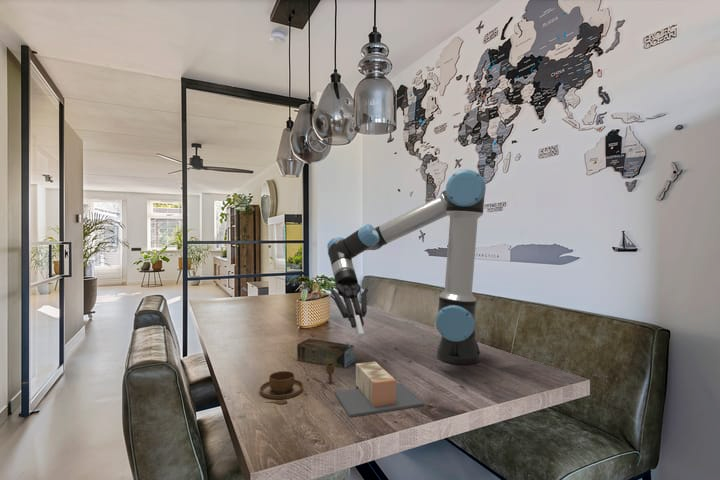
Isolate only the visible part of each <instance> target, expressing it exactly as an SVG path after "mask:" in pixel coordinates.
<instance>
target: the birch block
mask: <svg viewBox="0 0 720 480" xmlns="http://www.w3.org/2000/svg"><path fill="white" fill-rule="evenodd" d="M396 383H397V380H396V378H394V377H393V376H392V375H391V374H390V373H389V372H388V371H386V370H385V369H384V368H383V367H382V365H379V363H378V362H376V361H367V362H359V363H355V385H356V386H357V387H358V388H359V389H360V390H361V392H362V393H363V394H364V395H365V397H366V398H367V399H368V400H369V402H370V403H371V404H372V405H373V407H377V406H383V405H390V404H396ZM358 388H357V389H358Z"/></svg>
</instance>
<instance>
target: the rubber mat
mask: <svg viewBox="0 0 720 480" xmlns="http://www.w3.org/2000/svg"><path fill="white" fill-rule="evenodd" d="M334 395H335V396H336V398H337V399H338V402H340V404H341V406H342V408H343V409H344V411H345V413H346V414H347V416H348V417H349V418H354V417H355V418H356V417H359V416H367V415H372V414H379V413H385V412H391V411H398V410H399V411H400V410H404V409H411V408H412V409H413V408H418V407H424V406H425V403H424V402H423V401H422V400H421V399H420V398H419V397H418V396H416V395H415V393H413V392H412V391H411V390H410V389H409V388H407V386H405V385H404V384H403V383H402V382H396V404H390V405H383V406H377V407H373V405H372V404H371V403H370V402H369V400H368V399H367V398H366V397H365V395H364V394H363V393H362V392H361V390H360V389H359V388H353V389H344V390H335V391H334Z"/></svg>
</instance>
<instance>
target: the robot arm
mask: <svg viewBox="0 0 720 480" xmlns="http://www.w3.org/2000/svg"><path fill="white" fill-rule="evenodd" d="M486 188H487V187H486V181H485V179H484V178H483V176H482V175H481V174H480V173H478V172H477V171H475V170H472V169H462V170H458V171H456V172H454V173H453V174H451V176H450V177H449V178H448V180H447V182H446V184H445V190H443V191H441V193H440V195H439V196H438V197H435V198H433V199H431V200H430V201H429V200H428V201H427V202H425V203H423V204H422V205H419V206H417V207H415V208H413V209H411V210H408V211H407V212H405V213H403V214H400V215H399V216H397V217H395V218H393V219H391V220H388V221H387V222H385V223H383V224H381V225H378V226H376V227H374V226H373V225H372V224H370V223H368V224H365V225H364V226H362V227H359V228H358V229H357V230H355V231H354V232H352V234H350V235H348V236H347V237H345V238H343V237H341V236H337V237H334V238H332V239H330V240H329V241H328V243H327V247H326V248H327V255H328V257H329V260H330V264H331V270H332V274H333V277H334V283H335V286H336V288H335V289H331V292H330V295H329V296H330V298H331V299H333V300H334V303H335V304H336V305H335V306H337V309H338V310H339V312H340V314H341V316H342V318H343V319H347V320H348V321H349V322H350V326H351V328H352V329H354V330H355V331H354V332H355V334H356V338H357V339H362V338H363V336H364V334H365V332H364V329H363V327H364V325H365V321H364V319H363V318H365V317H366V316H367V315H366V314H367V312H368V310H367V309H368V305H367V304H368V301H367V295H368V292H369V289H368V288H362V287H361V285H360V284H359V282H358V278H357V274H356V270H355V267H354V263H353V260H352V259H354V258H356V257H357V256H359V255H360V254H361V253H364V252H366V251H376V250H379V249H381V248H382V247H383V246H386V245H387V244H389V243H392V242H394V241H396V240H399V239H400V238H403V237H404V236H406V235H408V234H411V233H412V232H416V231H417V230H419V229H422V228H424V227H426V226H428V225H430V224H432V223H435V222H437V221H439V220H441V219H443V218H445V217H449V227H448V228H449V229H448V239H447V240H448V241H447V242H448V243H447V254H446V256H447V257H446V264H445V265H446V267H445V268H446V269H445V277H444V278H445V279H444V280H445V281H444V290H443V291H442V292H441V293H440V294H439V298H438V306H437V307H438V311H437V314H436V317H435V326H436V329H437V332H438V333H439V334H440V335H441V339H440V340H439V343H438V347H437V349H436V357H437V358H438V359H439V360H440V361H442V362H445V363H449V364H451V365H461V366H462V365H468V366H469V365H474V364H475V365H476V364H478V363H480V362H481V360H482V359H481V358H482V357H481V351H480V348H479V344H478V342H477V339H476V328H477V327H476V323H477V322H476V316H477V315H476V314H477V313H476V310H477V309H476V308H477V298H476V297H475V295H473V281H474V272H475V271H474V269H475V258H476V257H475V256H476V246H477V245H476V244H477V233H478V232H477V231H478V222H479V221H478V219H479V218H481V217H482V216H483V214H484V207H485V195H486ZM358 294H360V296H361V299H360V300H361V301H359V298H358V296H359V295H358ZM341 297H342V298H343V300H342V298H341Z"/></svg>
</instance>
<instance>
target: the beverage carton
mask: <svg viewBox="0 0 720 480" xmlns="http://www.w3.org/2000/svg"><path fill="white" fill-rule="evenodd" d="M296 347H297V351H296V352H297V355H296V356H297V361H299V362H300V361H301V362H307V363H311V364H317V365H323V366H326V364H328V363H333V364H334V368H340V369H346V368H347V367H349V366H350V365H352V363H354V362H355V345H353V344H346V343H341V342H334V341H327V340H321V339H314V338H307V339H305V340H303V341H301V342H299V343H297V346H296Z"/></svg>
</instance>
